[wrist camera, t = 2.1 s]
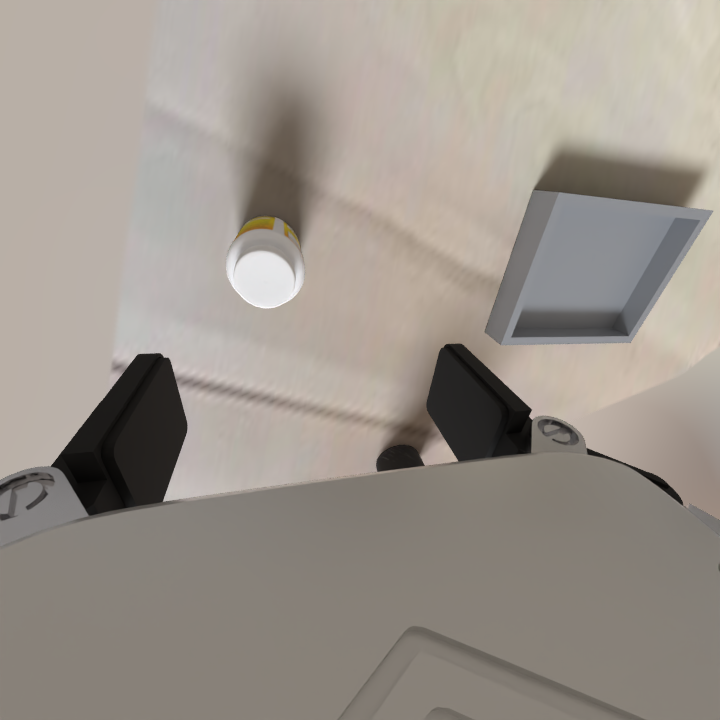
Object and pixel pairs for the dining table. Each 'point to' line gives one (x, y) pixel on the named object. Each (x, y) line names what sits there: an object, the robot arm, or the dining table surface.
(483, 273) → the dining table surface
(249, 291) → the supplement bottle
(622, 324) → the tray
